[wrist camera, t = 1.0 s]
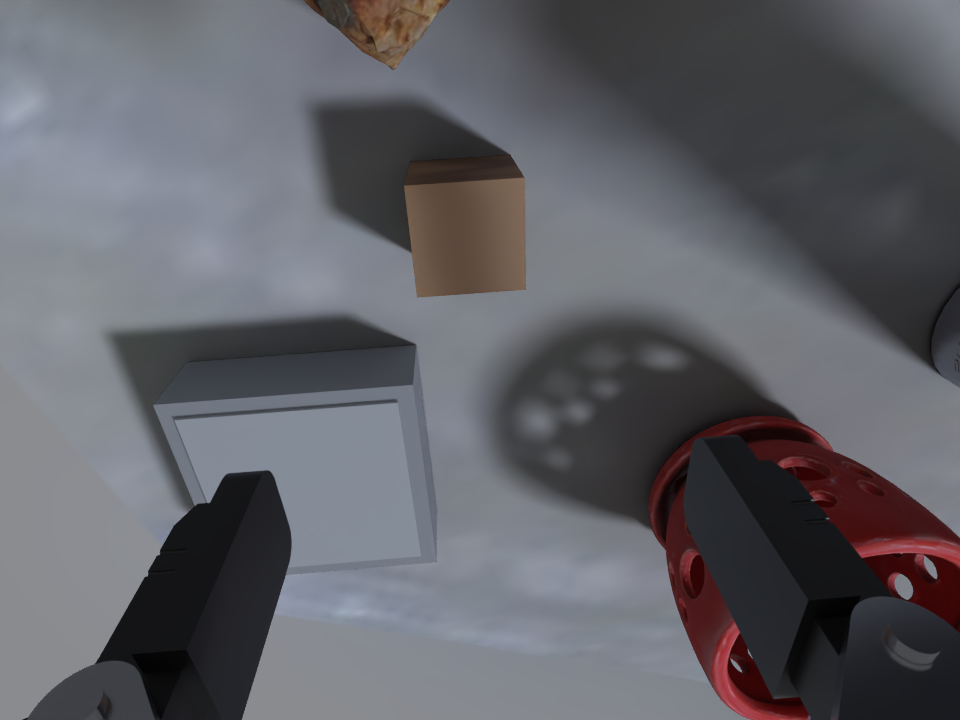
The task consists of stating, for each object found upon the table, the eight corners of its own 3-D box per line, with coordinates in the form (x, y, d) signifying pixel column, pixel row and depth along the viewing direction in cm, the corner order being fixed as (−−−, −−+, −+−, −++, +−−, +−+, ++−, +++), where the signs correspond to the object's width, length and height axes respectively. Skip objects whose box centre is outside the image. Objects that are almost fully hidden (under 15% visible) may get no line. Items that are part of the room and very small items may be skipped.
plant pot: (824, 528, 39) (965, 708, 28) (635, 560, 39) (705, 749, 29) (853, 369, 32) (1052, 524, 22) (627, 409, 33) (714, 581, 22)
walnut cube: (510, 154, 25) (524, 177, 21) (512, 250, 27) (525, 289, 23) (410, 161, 25) (404, 185, 21) (420, 257, 27) (417, 297, 23)
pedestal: (416, 344, 30) (412, 387, 26) (437, 511, 35) (436, 564, 32) (187, 362, 29) (150, 407, 26) (246, 527, 35) (224, 583, 32)
